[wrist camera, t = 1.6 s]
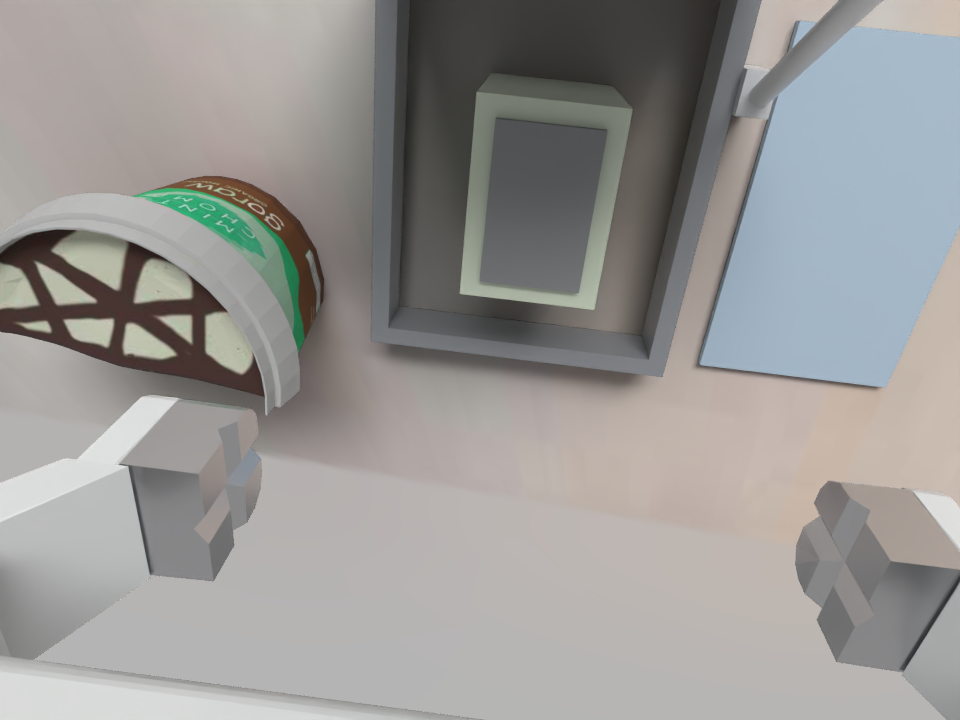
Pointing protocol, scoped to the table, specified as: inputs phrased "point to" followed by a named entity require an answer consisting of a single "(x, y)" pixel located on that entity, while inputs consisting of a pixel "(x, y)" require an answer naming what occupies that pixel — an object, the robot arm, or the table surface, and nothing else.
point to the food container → (169, 282)
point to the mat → (845, 212)
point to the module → (542, 189)
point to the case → (719, 97)
